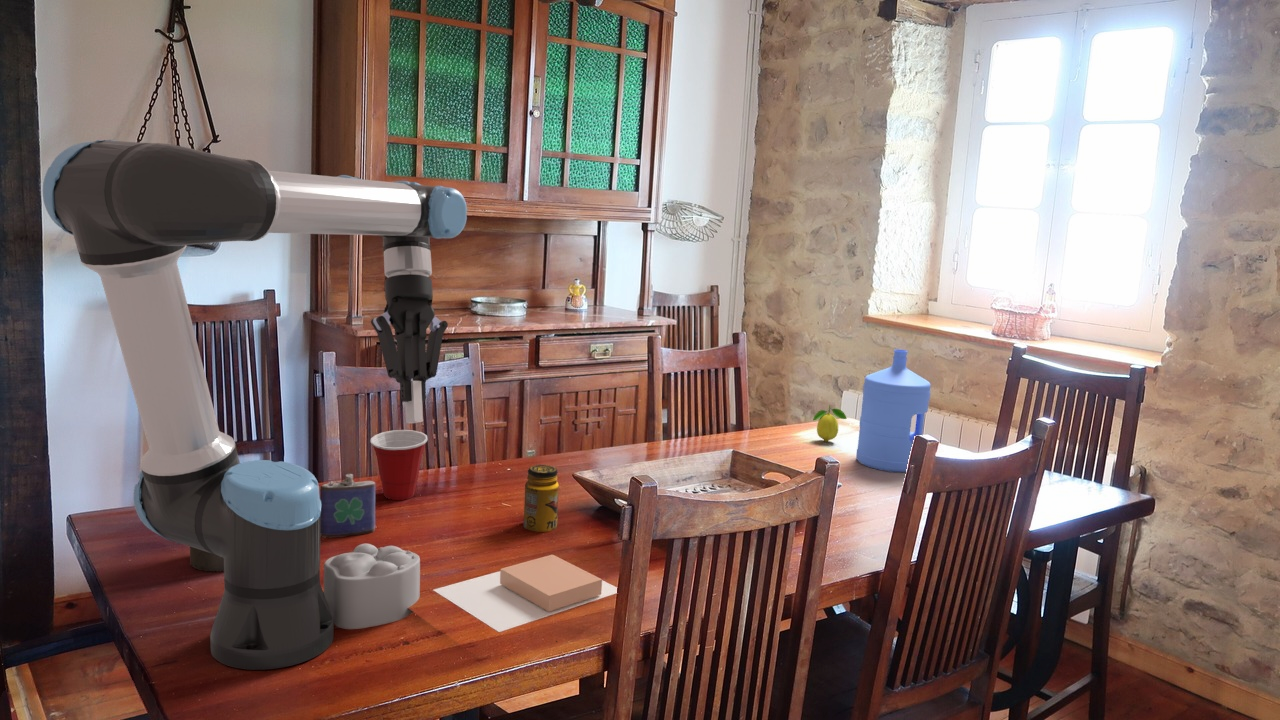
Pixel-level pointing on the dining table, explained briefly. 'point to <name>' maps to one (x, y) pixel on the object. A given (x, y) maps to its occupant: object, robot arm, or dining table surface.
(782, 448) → the dining table surface
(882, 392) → the water jug
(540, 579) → the tile
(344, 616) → the lumpy-topped squat cylinder
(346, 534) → the flask
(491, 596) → the board
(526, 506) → the condiment
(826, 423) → the lemon
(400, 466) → the plastic cup
